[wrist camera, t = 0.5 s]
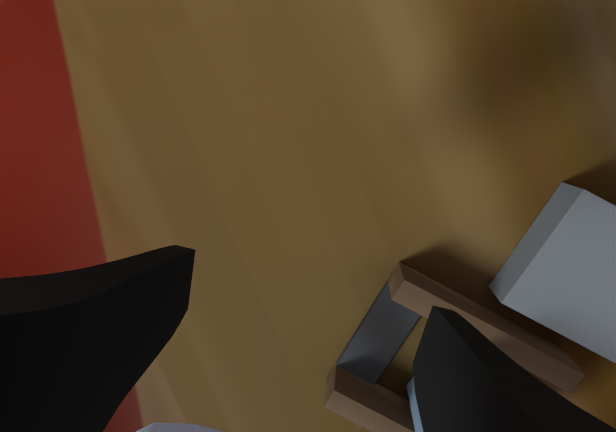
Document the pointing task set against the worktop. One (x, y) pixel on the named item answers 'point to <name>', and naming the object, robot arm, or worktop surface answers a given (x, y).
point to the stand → (567, 270)
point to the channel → (394, 329)
